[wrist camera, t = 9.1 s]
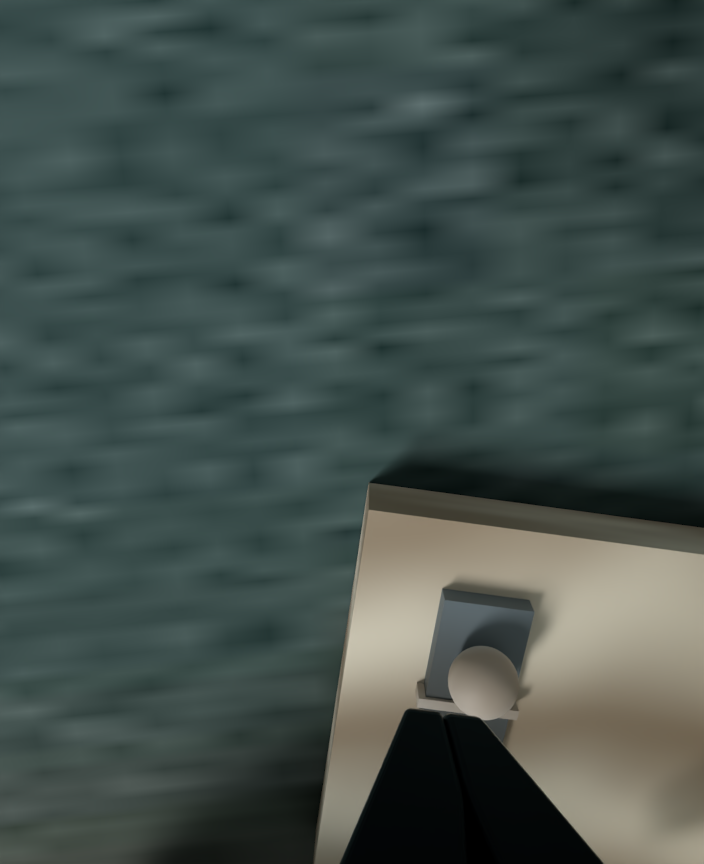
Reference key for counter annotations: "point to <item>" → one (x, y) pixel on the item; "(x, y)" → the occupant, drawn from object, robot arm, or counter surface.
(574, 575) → the latch board
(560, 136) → the counter surface
